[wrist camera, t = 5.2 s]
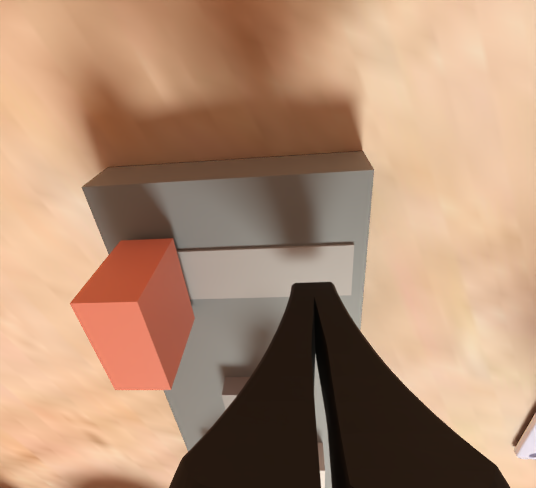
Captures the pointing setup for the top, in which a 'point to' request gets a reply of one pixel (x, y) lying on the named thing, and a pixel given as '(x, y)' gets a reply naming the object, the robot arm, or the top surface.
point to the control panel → (243, 258)
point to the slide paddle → (137, 314)
